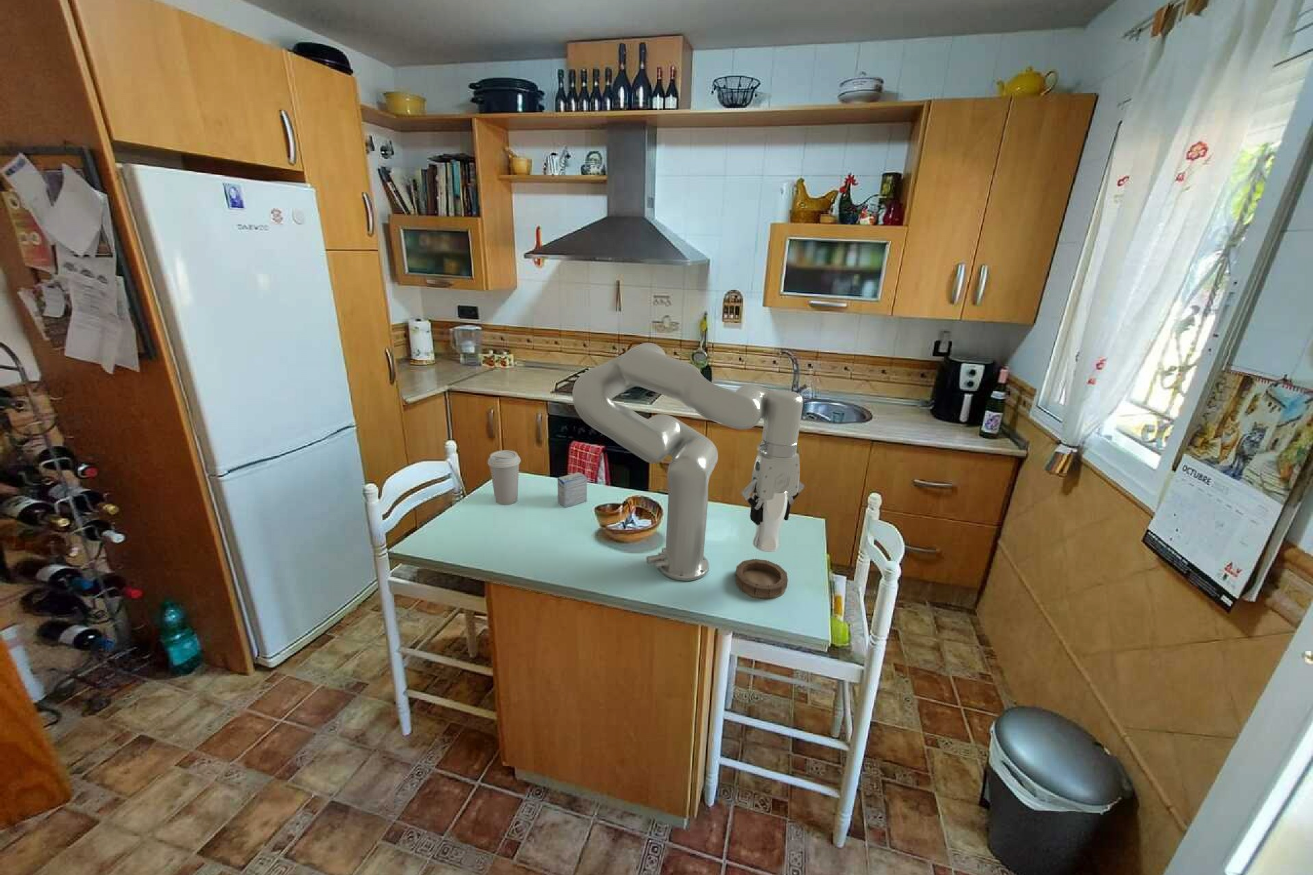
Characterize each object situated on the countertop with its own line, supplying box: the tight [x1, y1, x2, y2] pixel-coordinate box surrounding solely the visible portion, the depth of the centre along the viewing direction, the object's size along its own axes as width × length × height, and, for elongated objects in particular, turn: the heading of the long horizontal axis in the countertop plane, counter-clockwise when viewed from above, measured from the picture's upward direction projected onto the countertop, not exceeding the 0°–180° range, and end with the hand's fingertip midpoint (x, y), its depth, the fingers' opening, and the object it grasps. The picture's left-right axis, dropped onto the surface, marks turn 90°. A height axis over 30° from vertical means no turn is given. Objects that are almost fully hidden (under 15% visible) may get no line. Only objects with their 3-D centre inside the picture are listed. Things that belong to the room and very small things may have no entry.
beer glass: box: [752, 491, 788, 553], centre depth 118 cm, size 7×7×15 cm
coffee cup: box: [487, 449, 522, 506], centre depth 156 cm, size 10×10×15 cm
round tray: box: [734, 558, 789, 600], centre depth 124 cm, size 12×12×3 cm
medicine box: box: [557, 472, 588, 509], centre depth 158 cm, size 8×4×9 cm, turn 130°
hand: (769, 519), depth 118 cm, fingers closed on beer glass, 6 cm apart
